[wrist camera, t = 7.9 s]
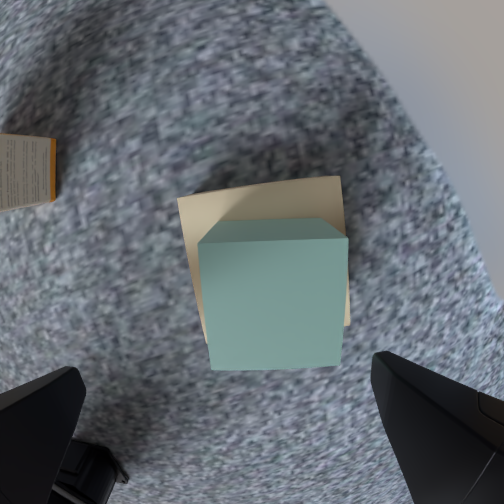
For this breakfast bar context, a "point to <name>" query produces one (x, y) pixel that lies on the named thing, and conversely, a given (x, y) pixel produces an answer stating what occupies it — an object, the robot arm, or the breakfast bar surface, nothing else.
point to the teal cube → (273, 293)
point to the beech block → (259, 214)
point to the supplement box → (26, 171)
